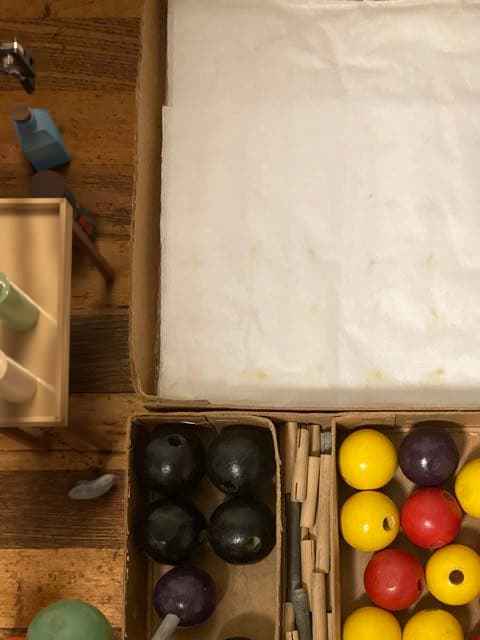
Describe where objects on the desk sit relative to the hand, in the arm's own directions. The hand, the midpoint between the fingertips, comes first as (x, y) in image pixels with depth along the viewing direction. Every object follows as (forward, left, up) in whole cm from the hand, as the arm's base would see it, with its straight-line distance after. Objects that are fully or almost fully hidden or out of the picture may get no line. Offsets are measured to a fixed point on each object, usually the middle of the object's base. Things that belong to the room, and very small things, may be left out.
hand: (4, 89), depth 134 cm
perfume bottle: (0, 0, -18) cm, 18 cm away
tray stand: (+6, -39, -18) cm, 43 cm away
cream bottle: (+6, -50, +5) cm, 51 cm away
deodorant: (+6, -15, -18) cm, 24 cm away
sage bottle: (+6, -39, +5) cm, 40 cm away
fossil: (+10, -62, -18) cm, 65 cm away
